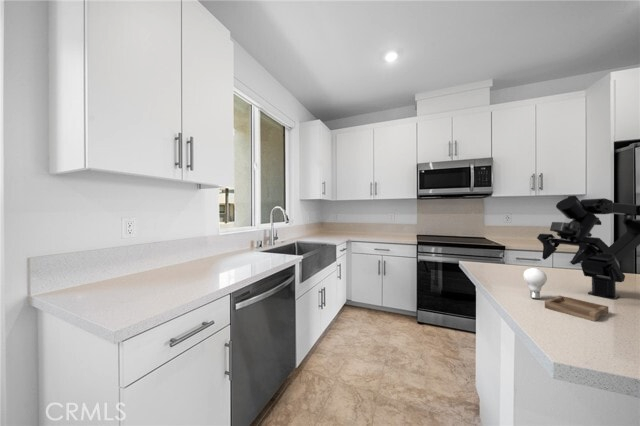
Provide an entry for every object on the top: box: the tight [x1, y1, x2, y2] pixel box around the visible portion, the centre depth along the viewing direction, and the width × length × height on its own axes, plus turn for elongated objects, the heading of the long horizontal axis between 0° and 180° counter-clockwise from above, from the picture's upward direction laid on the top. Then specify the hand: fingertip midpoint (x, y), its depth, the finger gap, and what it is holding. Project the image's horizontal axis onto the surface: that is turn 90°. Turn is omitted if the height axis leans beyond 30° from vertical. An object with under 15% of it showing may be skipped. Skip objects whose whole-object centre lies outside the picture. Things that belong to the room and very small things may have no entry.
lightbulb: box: [522, 267, 548, 300], centre depth 86 cm, size 6×6×11 cm
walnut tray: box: [544, 295, 610, 322], centre depth 75 cm, size 11×11×2 cm
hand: (557, 261), depth 86 cm, fingers open, 9 cm apart
